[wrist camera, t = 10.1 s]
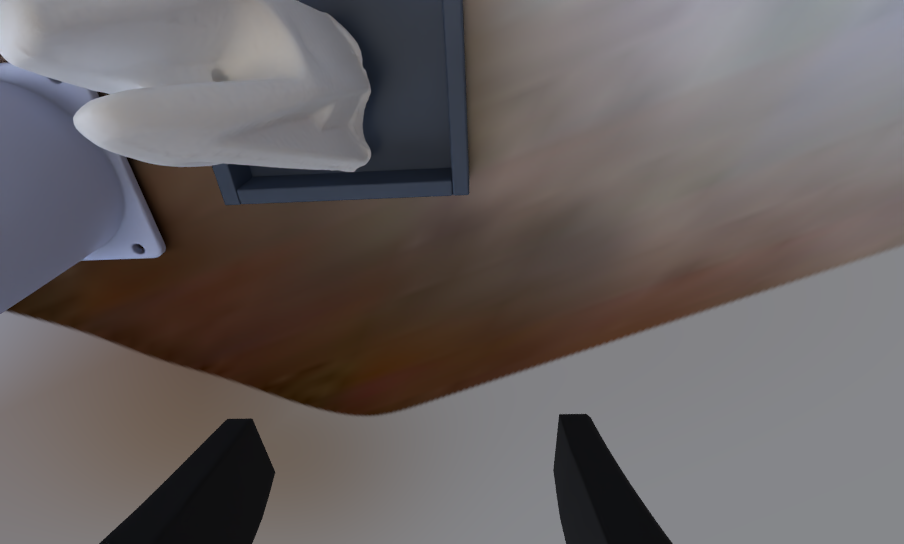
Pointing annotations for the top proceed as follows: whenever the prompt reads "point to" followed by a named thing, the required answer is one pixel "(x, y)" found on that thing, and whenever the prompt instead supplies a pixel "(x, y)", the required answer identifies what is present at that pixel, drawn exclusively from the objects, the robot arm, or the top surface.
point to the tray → (387, 111)
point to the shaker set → (202, 78)
